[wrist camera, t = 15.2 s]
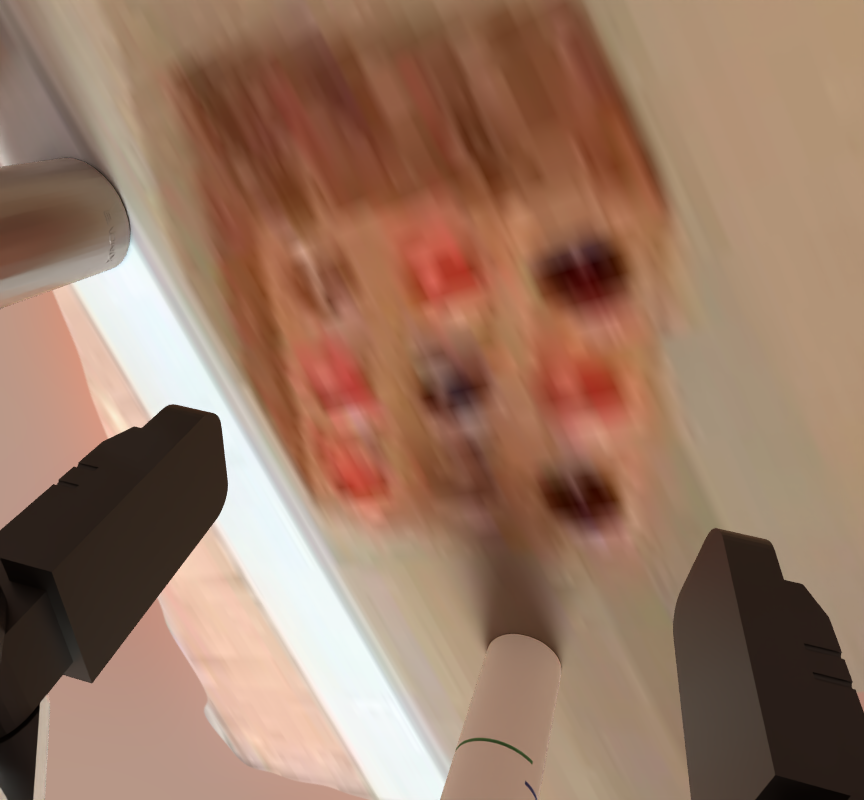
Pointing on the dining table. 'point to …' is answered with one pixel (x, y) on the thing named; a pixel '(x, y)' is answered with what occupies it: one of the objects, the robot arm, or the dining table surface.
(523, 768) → the cylindrical container
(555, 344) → the dining table surface
